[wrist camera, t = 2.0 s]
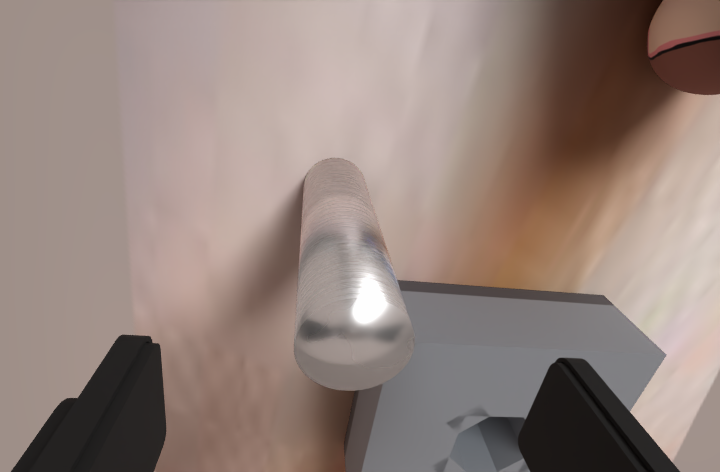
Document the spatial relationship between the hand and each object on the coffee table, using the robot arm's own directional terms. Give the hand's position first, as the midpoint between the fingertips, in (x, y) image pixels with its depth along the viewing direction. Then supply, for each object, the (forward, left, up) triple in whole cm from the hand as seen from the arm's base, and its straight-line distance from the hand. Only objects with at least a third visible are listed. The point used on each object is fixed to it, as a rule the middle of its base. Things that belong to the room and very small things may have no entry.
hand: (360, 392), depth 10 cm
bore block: (+11, +10, -12) cm, 19 cm away
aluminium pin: (-1, 0, -12) cm, 12 cm away
